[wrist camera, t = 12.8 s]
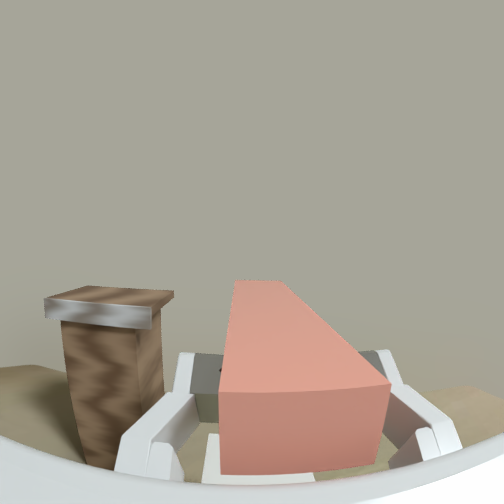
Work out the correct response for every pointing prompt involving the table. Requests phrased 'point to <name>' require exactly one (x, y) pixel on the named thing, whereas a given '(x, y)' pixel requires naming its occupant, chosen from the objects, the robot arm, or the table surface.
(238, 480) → the stand
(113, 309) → the brown pedestal
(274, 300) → the salmon pink flat bar
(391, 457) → the robot arm
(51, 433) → the table surface
